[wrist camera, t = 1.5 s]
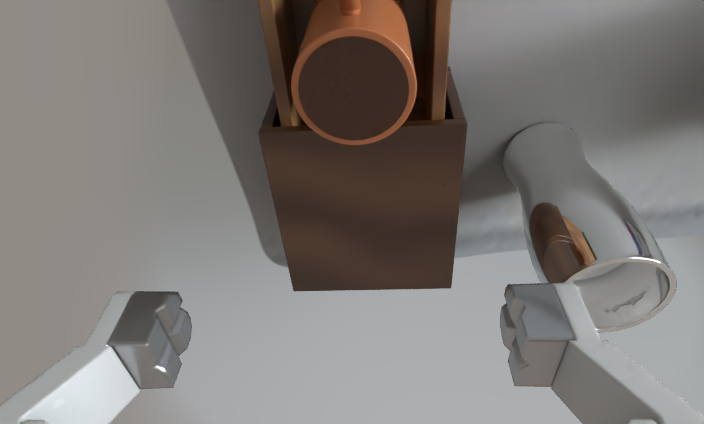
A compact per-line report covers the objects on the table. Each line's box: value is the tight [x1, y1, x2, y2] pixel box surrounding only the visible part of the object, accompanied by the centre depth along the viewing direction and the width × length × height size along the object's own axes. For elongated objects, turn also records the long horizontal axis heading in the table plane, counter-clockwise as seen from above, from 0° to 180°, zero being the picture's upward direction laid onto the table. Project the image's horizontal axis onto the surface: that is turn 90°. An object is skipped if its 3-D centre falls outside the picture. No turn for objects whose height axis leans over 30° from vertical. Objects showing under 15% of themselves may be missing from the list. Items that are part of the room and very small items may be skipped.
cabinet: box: [258, 67, 467, 291], centre depth 35 cm, size 14×12×8 cm
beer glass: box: [503, 122, 677, 333], centre depth 32 cm, size 7×7×15 cm
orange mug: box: [291, 0, 417, 145], centre depth 24 cm, size 9×6×12 cm, turn 4°
